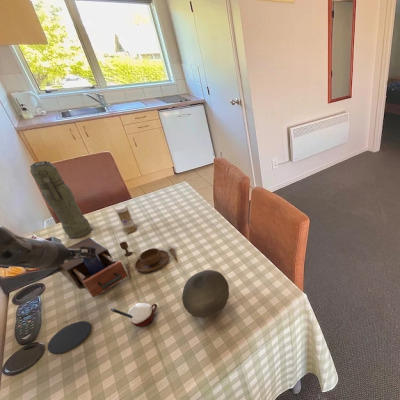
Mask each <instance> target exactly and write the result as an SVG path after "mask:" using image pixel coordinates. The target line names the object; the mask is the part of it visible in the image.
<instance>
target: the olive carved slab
mask: <svg viewBox="0 0 400 400" xmlns="http://www.w3.org/2000/svg"><path fill="white" fill-rule="evenodd" d="M29 168H30V174H31V175H32V177H33V179H34V181H35V182H36V184H37V185H38V186H39V188H40V191H41V195H42V197H43V199H44V200H45V202H46V203H47V205H48V206H49V207H51V209H52V210H53V212H54V214H55V215H56V217H57V218H58V220H59V222H60V224H61V227H62V229H63V231H64V232H65V234H66V235H67V236H68V238H69V239H70V240H79V239H81V238H83V237H84V238H85V237H86V236H89V235H90V234H91V233H92V232H93V228H92V227H91V224H90V222H89V220H88V219H87V217H85V216H84V213H82V210H81V209H80V207H79V205H78V204H77V202H76V200H75V195H74V194H73V191H72V189H71V188H70V186H69V185H68V184H66V183H65V181H64V180H63V177H62V176H61V174H60V172H59V170H58V168H57V166H55V165H54V164H53V163H52V162H51V161H47V160H43V161H37V162H35V163H32V164H31V165H30V166H29ZM91 231H92V232H91ZM89 233H90V234H89Z"/></svg>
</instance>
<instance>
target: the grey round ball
mask: <svg viewBox="0 0 400 400" xmlns="http://www.w3.org/2000/svg"><path fill="white" fill-rule="evenodd" d="M181 295H182V296H181V302H182V305H183V308H184V309H185V310H186V311H187V313H188V314H189V315H190V316H192V317H195V318H199V319H209V318H212V317H214V316H215V315H217V314H219V313H221V311H222V310H223V309H224V308H225V307H226V305H227V303H228V300H229V298H230V286H229V283H228V280H227V279H226V277H225V276H224V275H223V273H221V272H220V271H217V270H214V269H205V270H202V271H199V272H196V273H195V274H193V275H192V276H190V278H188V279H187V281H186V282H185V284H184V286H183V289H182V294H181Z"/></svg>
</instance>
